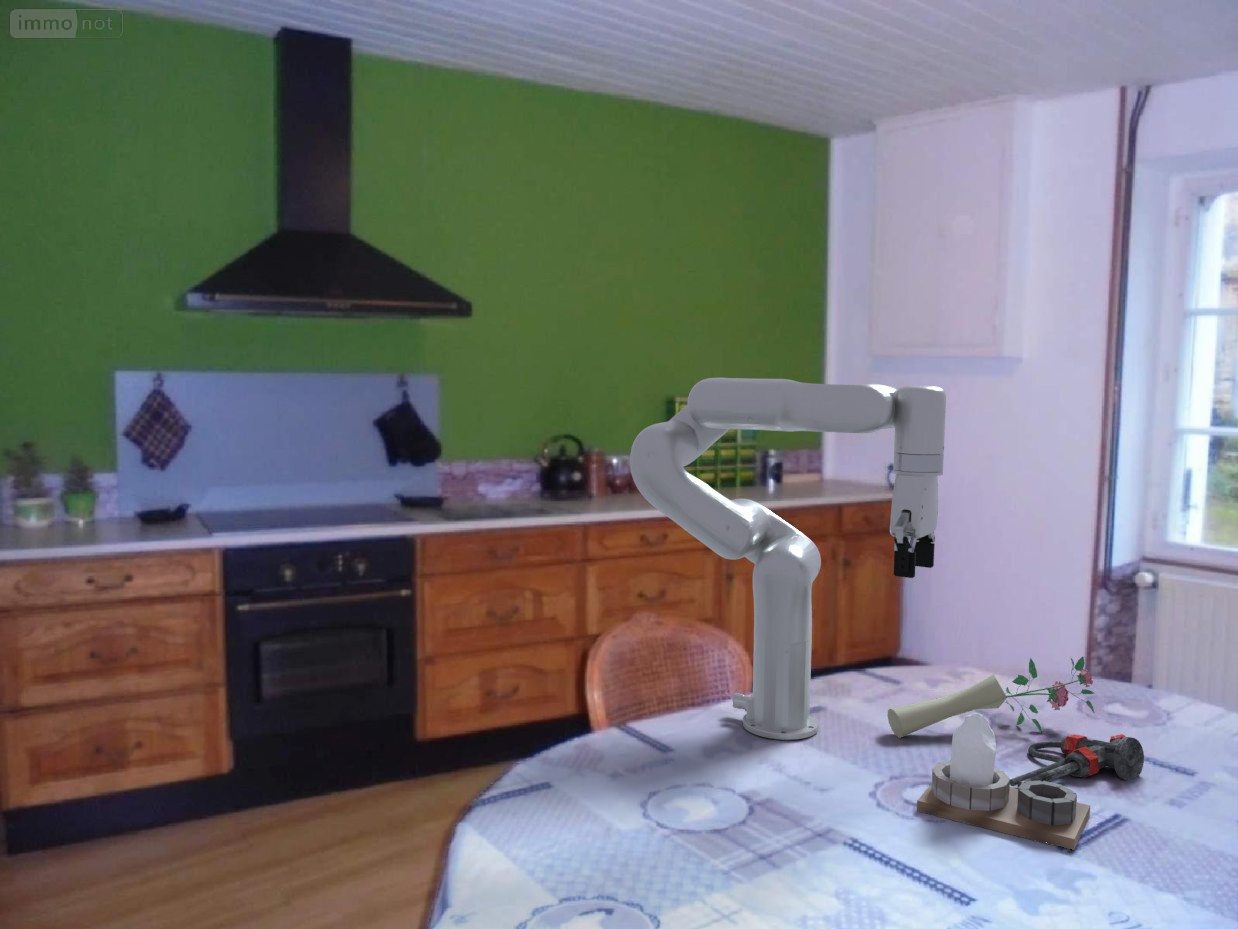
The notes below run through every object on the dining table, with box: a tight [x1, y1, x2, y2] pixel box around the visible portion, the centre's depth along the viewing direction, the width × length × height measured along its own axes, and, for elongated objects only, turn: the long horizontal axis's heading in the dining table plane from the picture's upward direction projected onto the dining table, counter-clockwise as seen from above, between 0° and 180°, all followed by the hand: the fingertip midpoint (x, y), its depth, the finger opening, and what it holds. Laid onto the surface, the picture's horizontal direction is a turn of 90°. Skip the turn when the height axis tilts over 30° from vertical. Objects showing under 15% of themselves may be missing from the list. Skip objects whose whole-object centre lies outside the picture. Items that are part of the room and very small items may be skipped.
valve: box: [1010, 733, 1145, 789], centre depth 155 cm, size 6×26×15 cm
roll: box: [950, 712, 997, 786], centre depth 141 cm, size 6×12×6 cm
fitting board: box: [916, 759, 1091, 851], centre depth 139 cm, size 20×12×4 cm, turn 57°
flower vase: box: [887, 656, 1095, 739], centre depth 171 cm, size 12×12×35 cm
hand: (913, 571), depth 162 cm, fingers open, 9 cm apart
